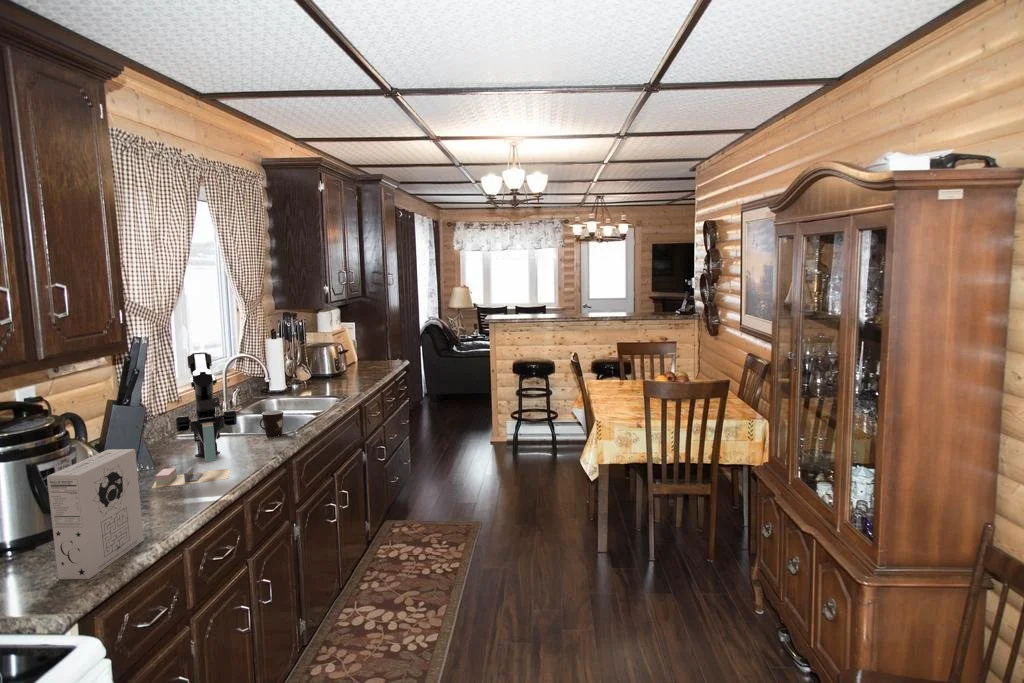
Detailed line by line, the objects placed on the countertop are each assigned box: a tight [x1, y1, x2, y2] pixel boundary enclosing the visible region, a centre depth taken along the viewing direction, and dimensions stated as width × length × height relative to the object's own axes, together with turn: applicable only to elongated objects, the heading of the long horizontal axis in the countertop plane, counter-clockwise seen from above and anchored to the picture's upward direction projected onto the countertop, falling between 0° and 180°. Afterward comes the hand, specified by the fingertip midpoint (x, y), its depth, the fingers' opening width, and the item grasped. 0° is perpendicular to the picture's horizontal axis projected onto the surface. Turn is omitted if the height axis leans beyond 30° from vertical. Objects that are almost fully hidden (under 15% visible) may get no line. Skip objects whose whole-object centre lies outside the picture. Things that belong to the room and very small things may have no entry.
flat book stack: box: [155, 467, 178, 485], centre depth 218 cm, size 8×4×3 cm, turn 11°
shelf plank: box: [151, 468, 232, 489], centre depth 220 cm, size 23×12×1 cm, turn 110°
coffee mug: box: [259, 409, 284, 438], centre depth 278 cm, size 12×9×10 cm
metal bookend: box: [183, 466, 203, 482], centre depth 219 cm, size 7×4×3 cm, turn 11°
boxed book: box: [202, 422, 217, 463], centre depth 220 cm, size 6×3×12 cm, turn 27°
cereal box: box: [46, 448, 145, 580], centre depth 160 cm, size 22×8×25 cm, turn 178°
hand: (209, 441), depth 219 cm, fingers closed on boxed book, 3 cm apart
